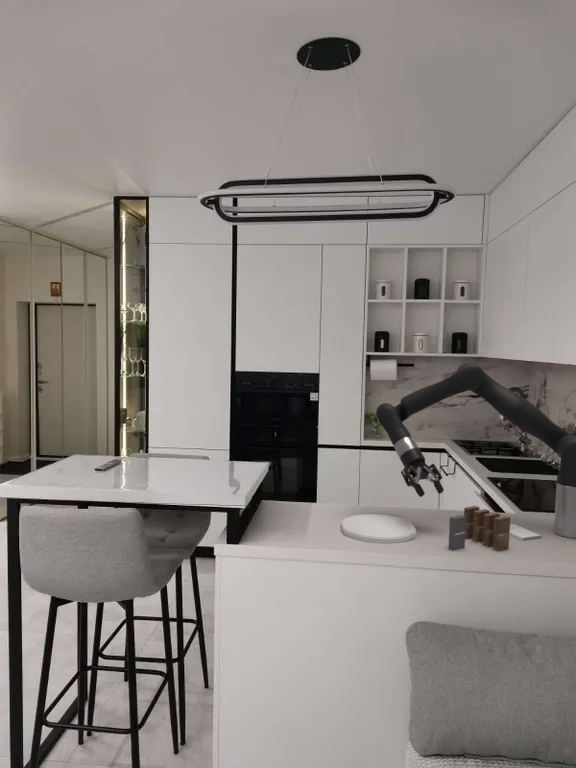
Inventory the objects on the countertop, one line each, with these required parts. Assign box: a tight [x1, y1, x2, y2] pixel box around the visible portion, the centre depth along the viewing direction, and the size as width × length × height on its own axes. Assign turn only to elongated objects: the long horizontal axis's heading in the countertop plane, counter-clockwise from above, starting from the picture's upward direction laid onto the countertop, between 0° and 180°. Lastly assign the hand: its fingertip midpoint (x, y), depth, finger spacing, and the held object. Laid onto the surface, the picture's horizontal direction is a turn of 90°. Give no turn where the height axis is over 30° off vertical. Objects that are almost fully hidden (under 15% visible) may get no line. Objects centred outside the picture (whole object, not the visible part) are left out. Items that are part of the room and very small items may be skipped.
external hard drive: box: [509, 523, 543, 542], centre depth 193 cm, size 2×8×12 cm
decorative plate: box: [341, 513, 417, 544], centre depth 192 cm, size 25×4×25 cm
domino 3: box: [472, 508, 491, 544], centre depth 184 cm, size 2×5×10 cm, turn 121°
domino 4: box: [482, 512, 501, 548], centre depth 181 cm, size 2×5×10 cm, turn 121°
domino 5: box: [492, 515, 511, 552], centre depth 177 cm, size 2×5×10 cm, turn 121°
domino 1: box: [448, 514, 466, 551], centre depth 177 cm, size 2×5×10 cm, turn 121°
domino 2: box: [463, 505, 480, 540], centre depth 188 cm, size 2×5×10 cm, turn 121°
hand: (432, 494), depth 186 cm, fingers open, 8 cm apart
